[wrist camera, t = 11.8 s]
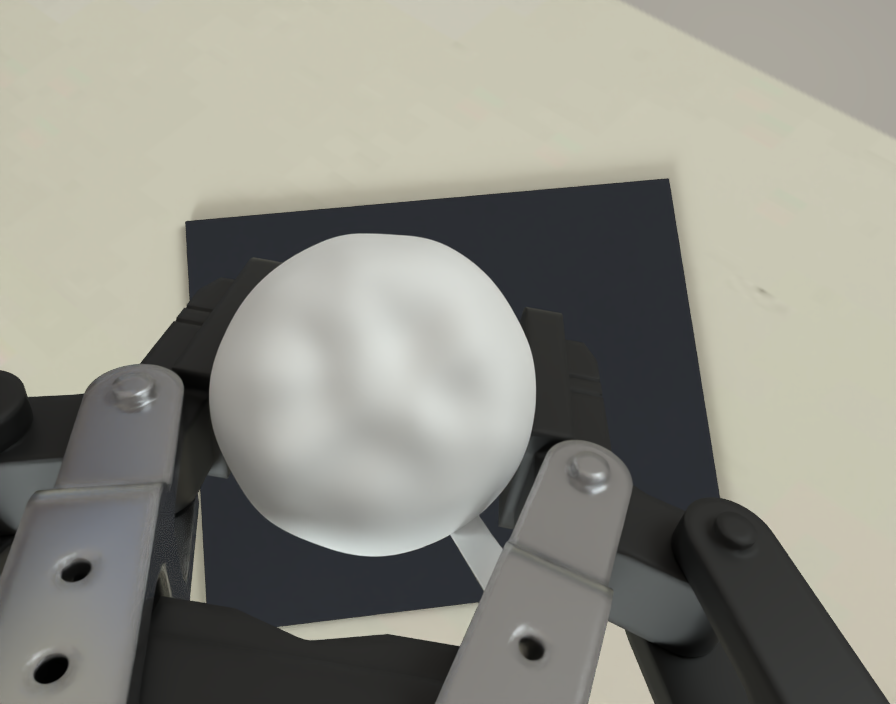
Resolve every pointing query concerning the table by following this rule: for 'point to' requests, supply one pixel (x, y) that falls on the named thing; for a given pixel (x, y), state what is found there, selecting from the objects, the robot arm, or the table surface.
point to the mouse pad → (523, 285)
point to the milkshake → (376, 397)
